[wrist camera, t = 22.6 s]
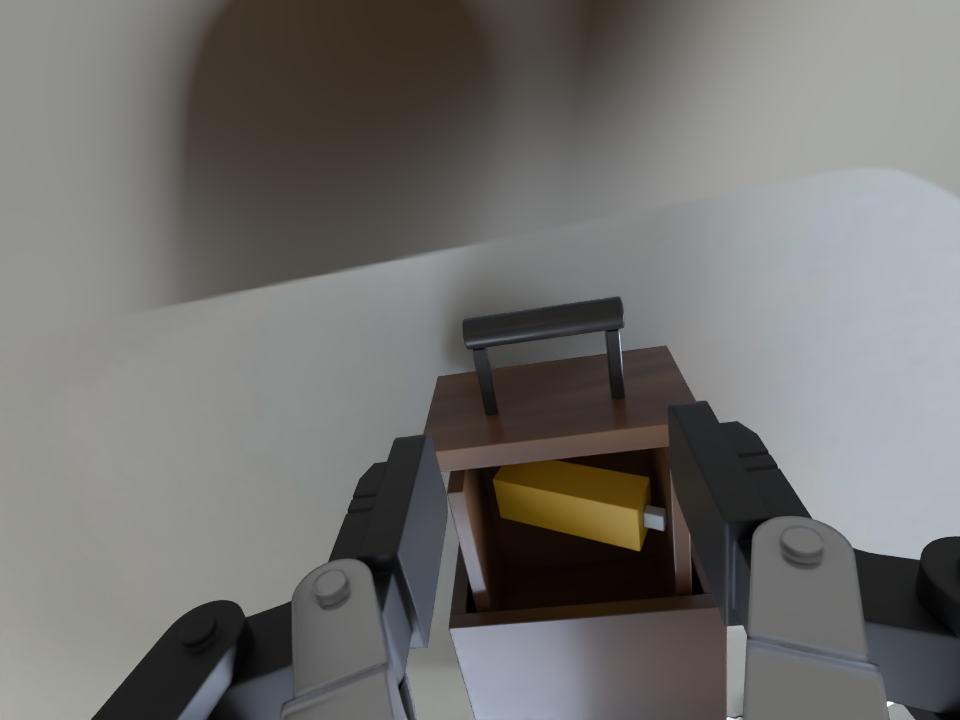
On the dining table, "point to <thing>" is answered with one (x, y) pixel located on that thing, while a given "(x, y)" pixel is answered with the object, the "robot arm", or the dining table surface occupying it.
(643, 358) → the drawer
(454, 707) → the dining table surface
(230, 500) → the dining table surface
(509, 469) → the box cutter
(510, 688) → the cabinet
